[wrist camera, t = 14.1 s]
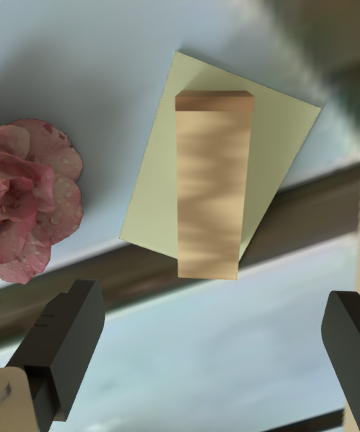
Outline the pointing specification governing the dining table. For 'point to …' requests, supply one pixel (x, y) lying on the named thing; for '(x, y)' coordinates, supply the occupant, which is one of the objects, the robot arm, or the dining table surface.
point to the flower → (35, 196)
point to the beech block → (211, 180)
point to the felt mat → (257, 159)
